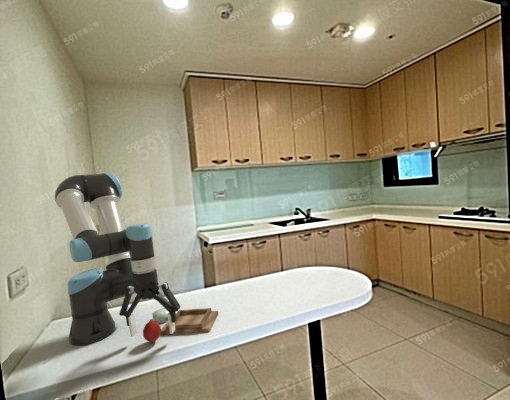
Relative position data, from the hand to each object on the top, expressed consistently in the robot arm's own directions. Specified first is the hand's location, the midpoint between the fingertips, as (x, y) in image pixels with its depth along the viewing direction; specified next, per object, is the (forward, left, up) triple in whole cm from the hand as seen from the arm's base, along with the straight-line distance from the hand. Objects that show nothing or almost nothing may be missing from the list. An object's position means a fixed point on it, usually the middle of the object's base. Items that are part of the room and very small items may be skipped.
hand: (153, 333), depth 101 cm
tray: (+9, +12, -3) cm, 15 cm away
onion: (0, 0, -4) cm, 3 cm away
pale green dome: (-4, +17, -3) cm, 18 cm away
